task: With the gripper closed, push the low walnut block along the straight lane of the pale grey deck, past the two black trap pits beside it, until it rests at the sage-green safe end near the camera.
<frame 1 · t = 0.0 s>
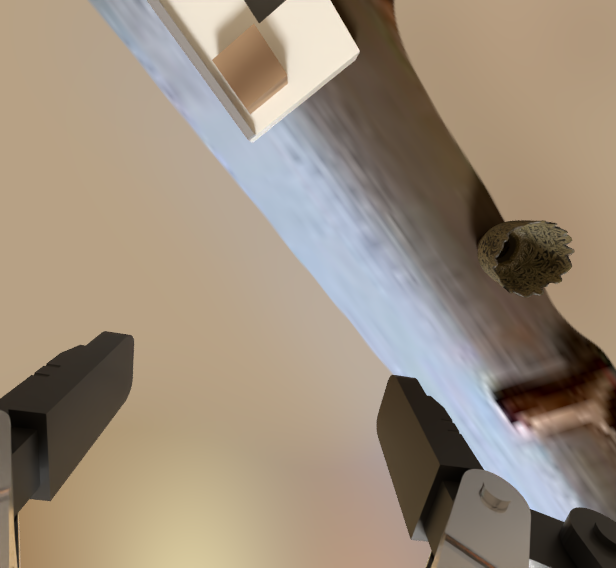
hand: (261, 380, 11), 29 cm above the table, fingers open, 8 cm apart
walnut block: (253, 77, 31), point 2 cm above the table, touching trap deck
cup: (489, 243, 40), on the table
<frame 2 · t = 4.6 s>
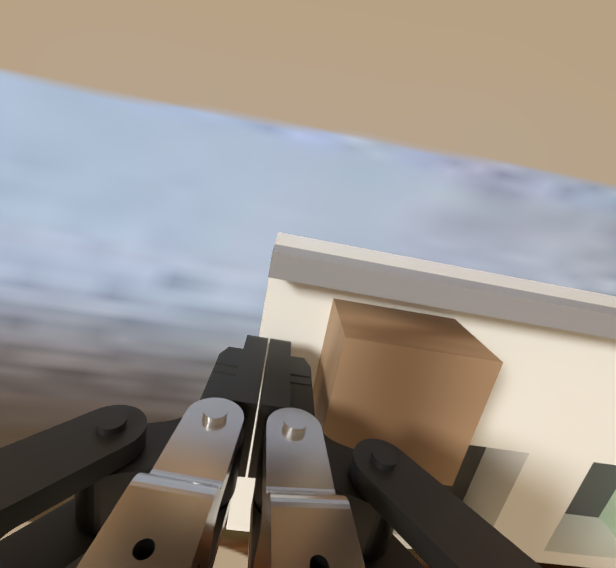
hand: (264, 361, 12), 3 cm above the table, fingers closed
walnut block: (379, 363, 13), point 2 cm above the table, touching gripper, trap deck
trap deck: (539, 405, 17), on the table
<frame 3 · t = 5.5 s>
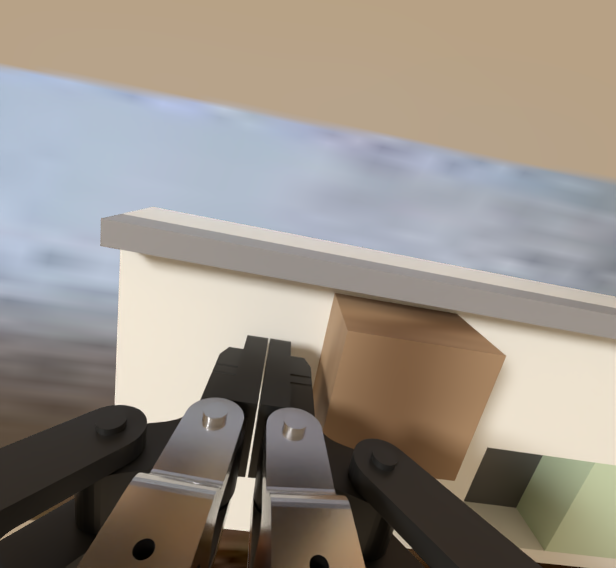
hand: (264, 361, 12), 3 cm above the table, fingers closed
walnut block: (380, 358, 13), point 2 cm above the table, touching gripper, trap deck
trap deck: (445, 391, 16), on the table
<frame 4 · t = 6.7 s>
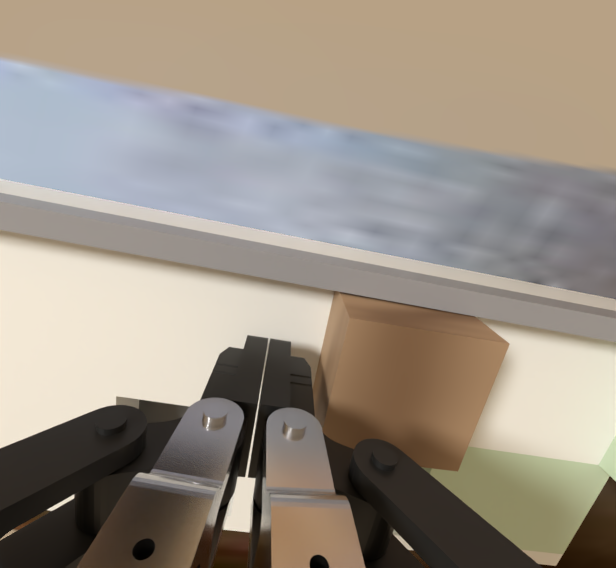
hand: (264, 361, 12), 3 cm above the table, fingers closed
walnut block: (382, 350, 13), point 3 cm above the table, touching gripper, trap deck
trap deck: (301, 370, 16), on the table
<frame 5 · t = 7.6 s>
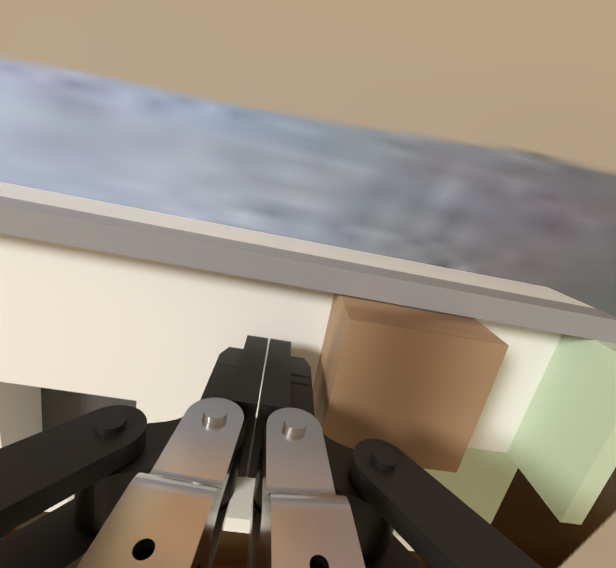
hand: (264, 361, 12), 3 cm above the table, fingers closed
walnut block: (382, 351, 13), point 2 cm above the table, touching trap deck
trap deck: (208, 357, 15), on the table
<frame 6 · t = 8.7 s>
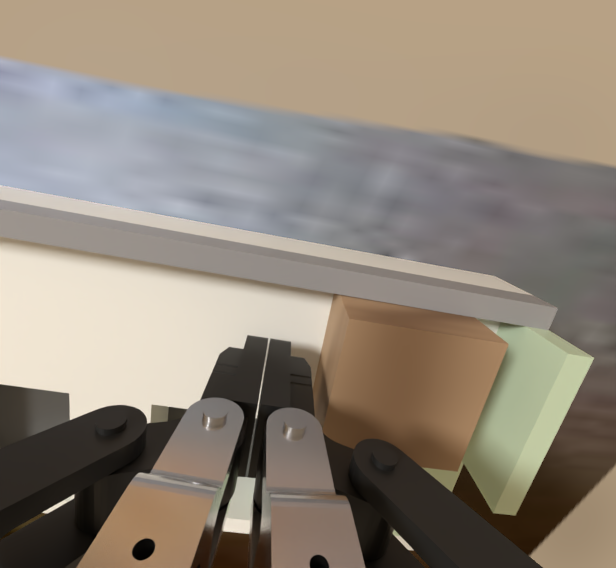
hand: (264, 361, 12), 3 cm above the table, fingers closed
walnut block: (382, 350, 13), point 2 cm above the table, touching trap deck
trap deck: (152, 349, 15), on the table
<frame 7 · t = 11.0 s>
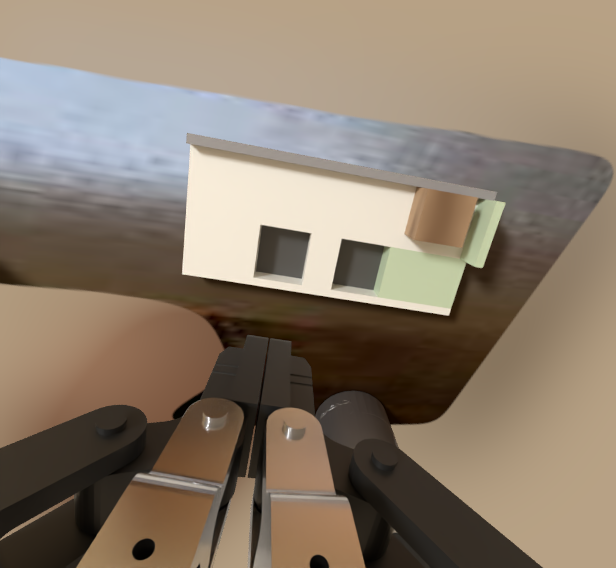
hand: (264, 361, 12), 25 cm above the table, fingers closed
walnut block: (432, 214, 33), point 2 cm above the table, touching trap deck
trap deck: (330, 224, 35), on the table
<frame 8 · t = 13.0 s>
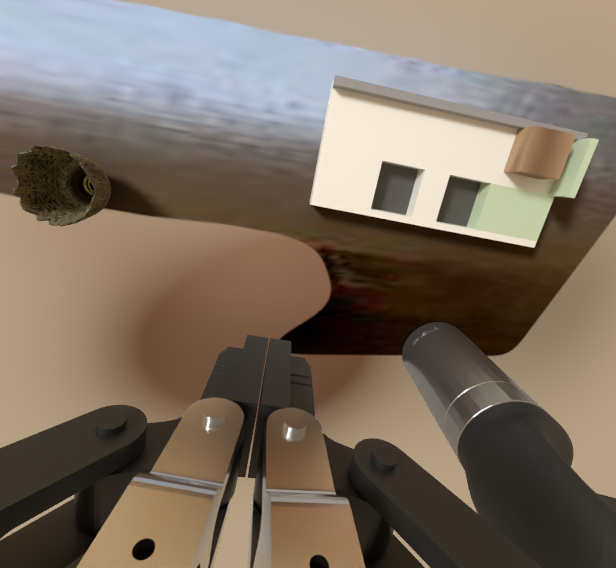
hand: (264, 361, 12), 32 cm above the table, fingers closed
walnut block: (529, 154, 38), point 2 cm above the table, touching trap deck
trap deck: (435, 166, 41), on the table
cup: (98, 185, 40), on the table
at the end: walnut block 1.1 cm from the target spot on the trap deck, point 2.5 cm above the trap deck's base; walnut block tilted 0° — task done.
